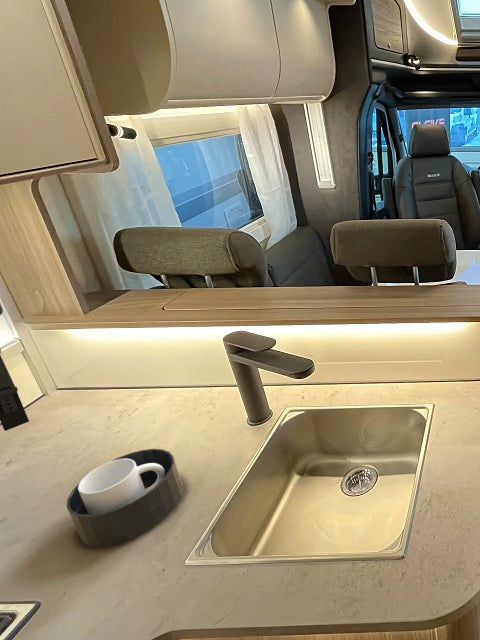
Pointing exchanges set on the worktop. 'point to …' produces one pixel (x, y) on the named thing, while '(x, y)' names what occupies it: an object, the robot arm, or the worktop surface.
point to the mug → (115, 485)
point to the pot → (130, 504)
